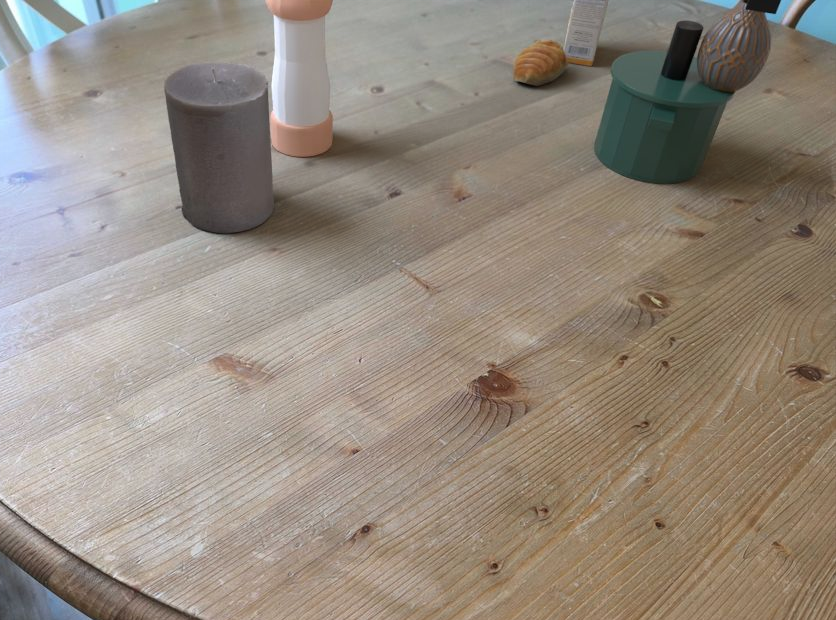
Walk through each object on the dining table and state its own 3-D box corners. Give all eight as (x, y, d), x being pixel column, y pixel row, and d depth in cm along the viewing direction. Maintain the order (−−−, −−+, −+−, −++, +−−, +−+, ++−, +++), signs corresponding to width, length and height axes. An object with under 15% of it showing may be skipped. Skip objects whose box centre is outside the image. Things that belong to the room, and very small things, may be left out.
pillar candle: (164, 220, 77) (138, 78, 66) (212, 174, 84) (196, 39, 73) (248, 244, 75) (235, 101, 64) (291, 195, 81) (286, 59, 71)
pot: (704, 134, 96) (732, 61, 89) (695, 205, 83) (727, 126, 77) (605, 113, 98) (625, 41, 92) (582, 179, 86) (603, 101, 80)
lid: (734, 74, 88) (757, 15, 83) (730, 124, 79) (756, 61, 74) (617, 52, 91) (633, -6, 86) (600, 97, 82) (617, 35, 77)
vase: (754, 103, 80) (790, 18, 74) (687, 91, 81) (717, 7, 75) (752, 77, 84) (786, -4, 78) (689, 66, 86) (717, -15, 80)
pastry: (545, 94, 102) (551, 66, 99) (499, 81, 104) (504, 54, 102) (568, 70, 108) (574, 43, 105) (525, 59, 110) (529, 32, 108)
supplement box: (565, 41, 116) (585, -52, 106) (596, 46, 115) (620, -47, 106) (559, 62, 110) (580, -34, 101) (592, 67, 109) (616, -29, 100)
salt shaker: (281, 123, 93) (274, -44, 79) (338, 131, 92) (341, -37, 79) (263, 152, 88) (253, -22, 74) (324, 161, 87) (324, -14, 73)
